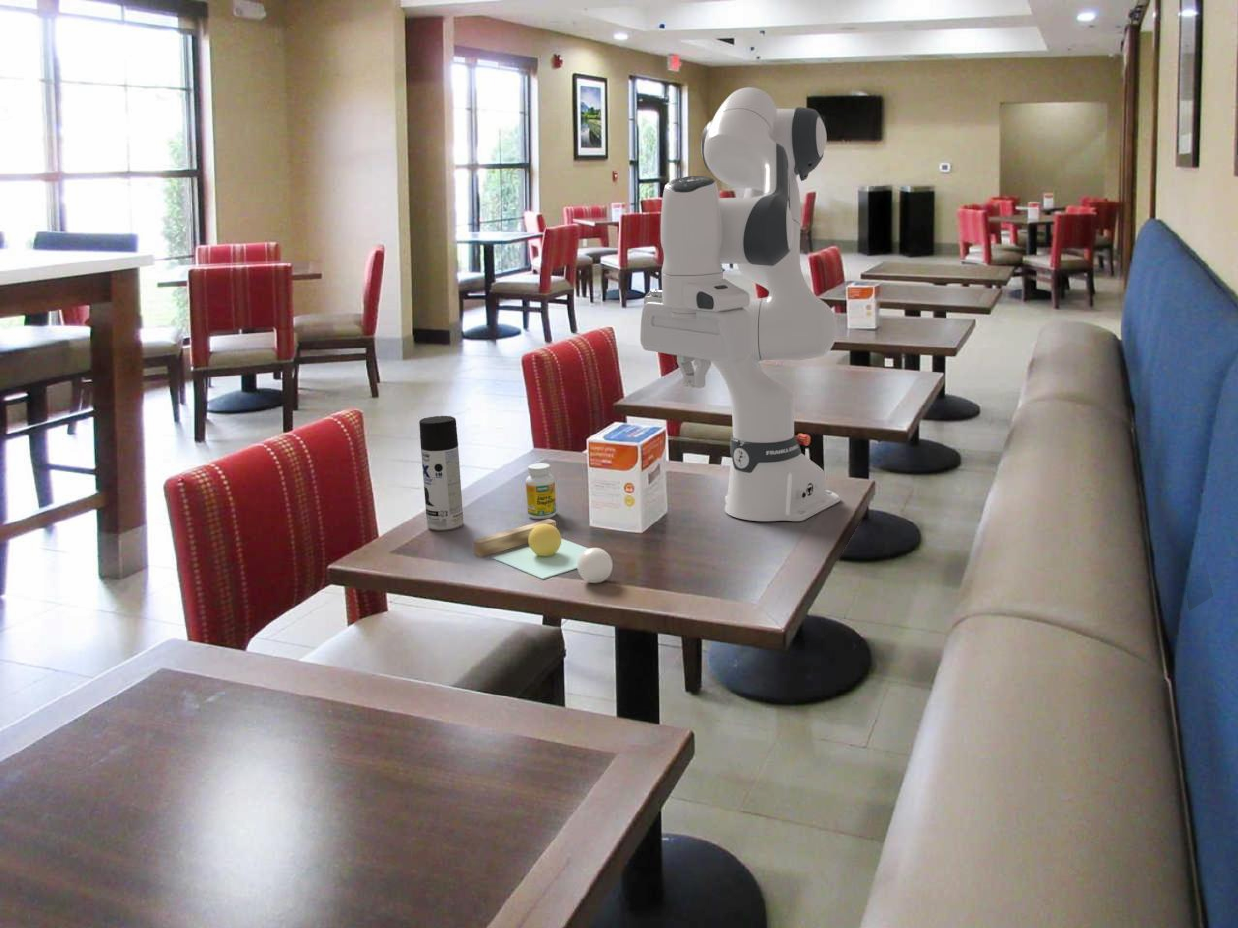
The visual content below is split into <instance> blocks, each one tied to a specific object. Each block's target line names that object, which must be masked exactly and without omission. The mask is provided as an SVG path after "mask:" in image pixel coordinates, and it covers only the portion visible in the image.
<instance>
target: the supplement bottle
mask: <svg viewBox="0 0 1238 928" xmlns="http://www.w3.org/2000/svg"><path fill="white" fill-rule="evenodd" d="M527 467H528V476H527V477H526V479H525V490H526V493H525V494H526V503H527V515H528V517H529V518H531V519H534V520H547V519H551V518H553V517H554V516H556V514H557V497H556V484H555V483H556V482H555V477H554V476H553V475H552V474H551V465H550V464H549V463H546V462H538V463H532V464H530V465H528V466H527Z"/></svg>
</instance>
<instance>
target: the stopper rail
mask: <svg viewBox="0 0 1238 928" xmlns="http://www.w3.org/2000/svg"><path fill="white" fill-rule="evenodd" d="M540 524H550V525H552V526H554V527H556V528H557V521H556V520H553V519H551V518H547V519H542V520H540V521H537V522H532V523H530V524H527V525H522V526H519V527H516V528H513V529H508V530H505V531H501V532H498V533H494V534H491V535H487V536H484V537H479V538H477V539H473V540H472V542H473V552H474V553H473V554H474V555H475V556H476V557H477V556H478V557H480V558H482V557H486V556H490V555H492V554H493V555H494V554H496V553H500V552H503V551H506V550H510V549H512V548H516V547H520V546H523V545H526V544H529V541H528V539H529V534H530V532H531V531H532V529H533V528H534V527H536V526H537V525H540Z"/></svg>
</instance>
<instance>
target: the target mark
mask: <svg viewBox="0 0 1238 928" xmlns="http://www.w3.org/2000/svg"><path fill="white" fill-rule="evenodd" d="M587 549H590V548H589V547H585V546H584V545H583V546H582V545H580V544H578V543H575V542H572V541H570V540H566V539H564V538H562V537H561V545H560V548H559V549H558V551H557V552H556V553H555V554H553V555H551V556H547V557H543V556H539V555H537V554H535V553H534V552H533V551H532V550H531V548H530V546H529V545H528V546H527V547H523V548H519V549H516V550H512V551H510V552H506V553H502V554H499V555H496V556H493V557H492V560H495V561H497V562H499V563H502V564H504V565H507V566H509V567H512V568H513V569H517V570H519V571H521V572H524V573H526V574H528V575H530V576H532V577H535V578H537V579H540V580H542V581H543V580H545V579H549V578H552V577H555V576H559V575H562V574H564V573H567V572H570V571H573V570H576V569H577V570H578V568H577V563H578V559H579V557H580V555H581V554H582V553H583V552H584V551H586V550H587Z"/></svg>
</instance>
